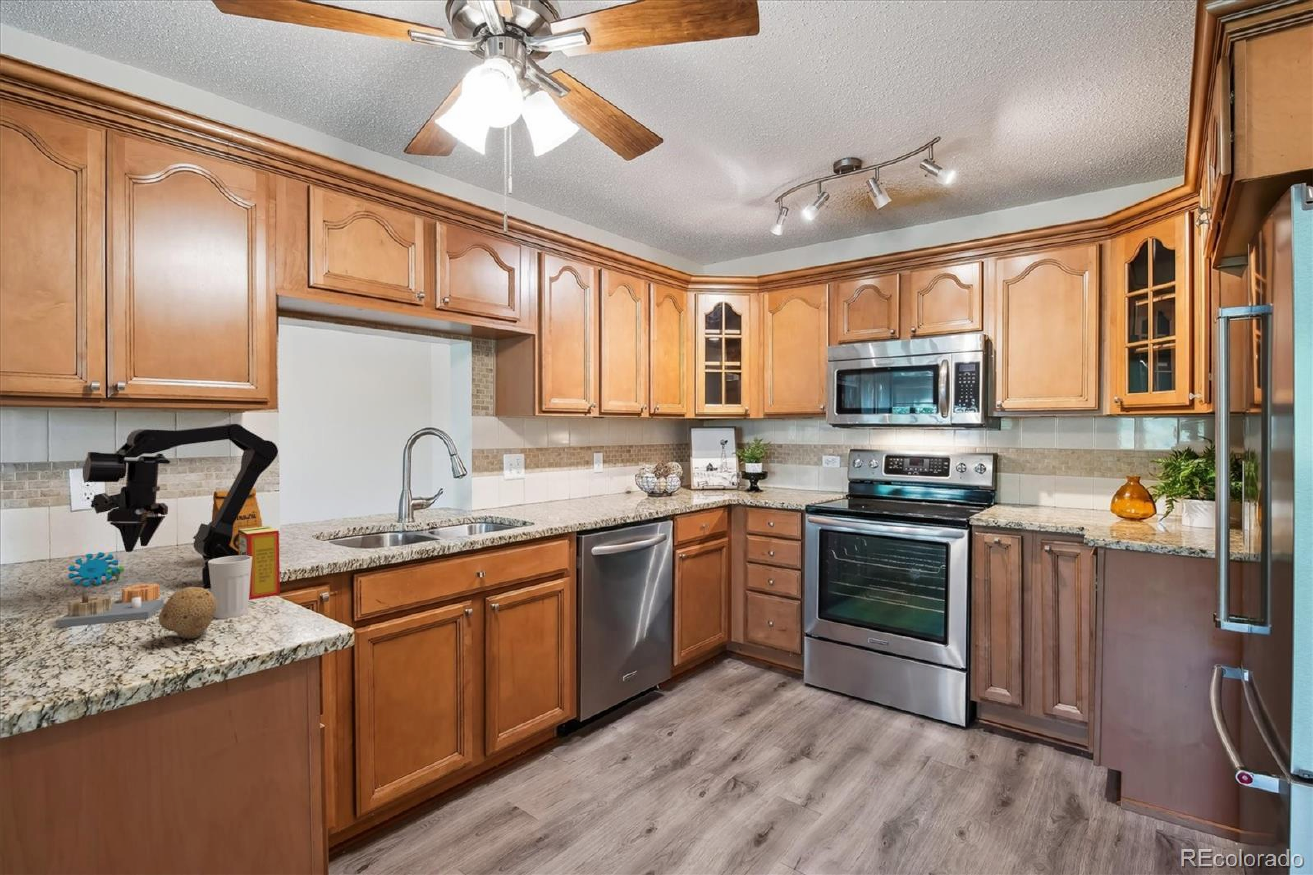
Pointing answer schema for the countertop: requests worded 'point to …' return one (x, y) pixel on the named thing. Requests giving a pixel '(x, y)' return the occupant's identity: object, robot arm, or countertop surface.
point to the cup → (230, 585)
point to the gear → (95, 569)
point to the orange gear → (141, 592)
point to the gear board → (116, 613)
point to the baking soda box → (261, 559)
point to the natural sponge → (188, 612)
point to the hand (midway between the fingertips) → (136, 548)
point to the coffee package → (240, 514)
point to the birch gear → (89, 605)
